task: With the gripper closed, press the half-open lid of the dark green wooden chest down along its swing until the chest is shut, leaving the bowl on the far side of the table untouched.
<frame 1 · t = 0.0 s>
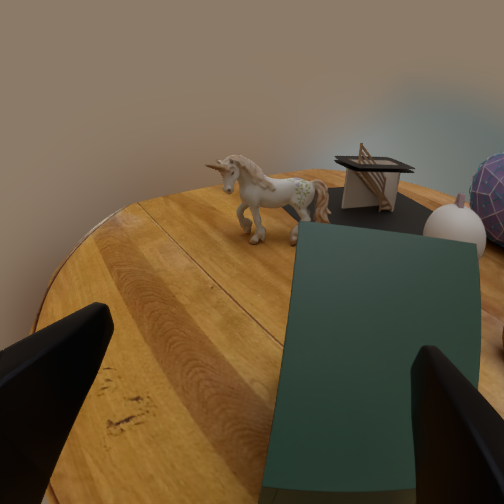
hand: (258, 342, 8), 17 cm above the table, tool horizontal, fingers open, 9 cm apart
lid: (390, 362, 14), point 12 cm above the table, hinge at 40.0°
chest: (337, 446, 21), on the table
ornament: (444, 268, 44), on the table
unicorn figurine: (270, 249, 48), on the table
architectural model: (367, 210, 63), on the table
decorative sphere: (497, 242, 53), on the table
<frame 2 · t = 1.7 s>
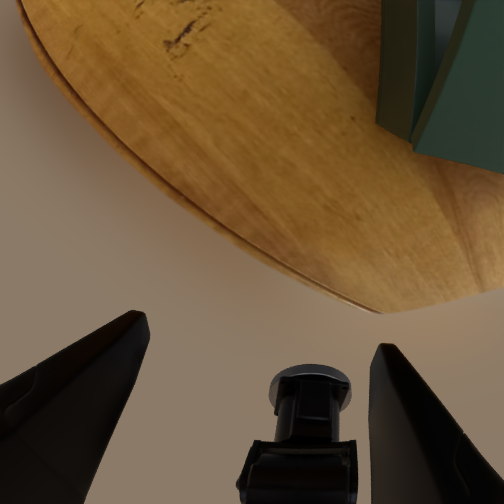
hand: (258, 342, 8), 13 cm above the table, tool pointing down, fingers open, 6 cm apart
chest: (461, 45, 13), on the table
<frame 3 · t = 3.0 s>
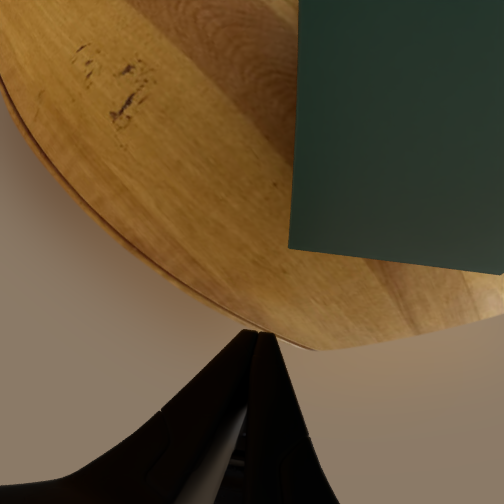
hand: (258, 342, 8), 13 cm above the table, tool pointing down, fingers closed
lid: (488, 164, 7), point 12 cm above the table, hinge at 40.0°
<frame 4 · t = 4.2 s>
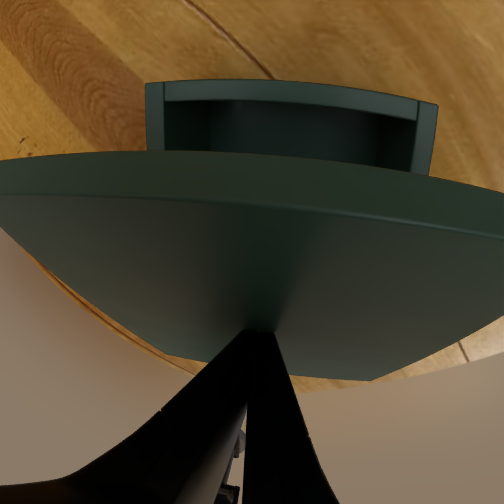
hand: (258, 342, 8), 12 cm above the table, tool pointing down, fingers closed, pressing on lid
lid: (264, 330, 9), point 11 cm above the table, hinge at 32.4°, touching gripper
chest: (289, 192, 18), on the table
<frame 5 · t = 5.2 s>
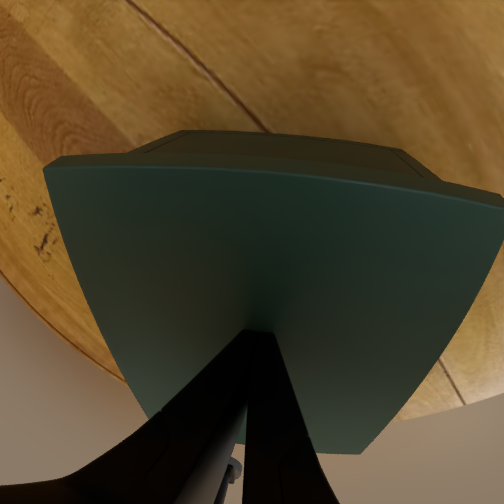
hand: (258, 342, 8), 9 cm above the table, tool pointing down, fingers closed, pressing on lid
lid: (258, 369, 10), point 8 cm above the table, hinge at 7.1°, touching gripper
chest: (281, 255, 17), on the table
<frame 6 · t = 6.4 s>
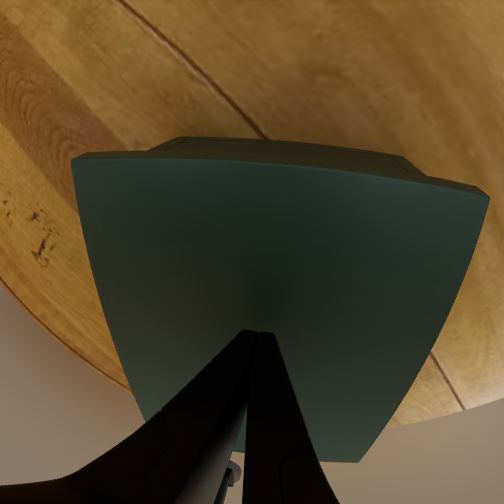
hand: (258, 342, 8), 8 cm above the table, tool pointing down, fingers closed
lid: (260, 365, 10), point 7 cm above the table, hinge at 0.6°
chest: (280, 263, 17), on the table
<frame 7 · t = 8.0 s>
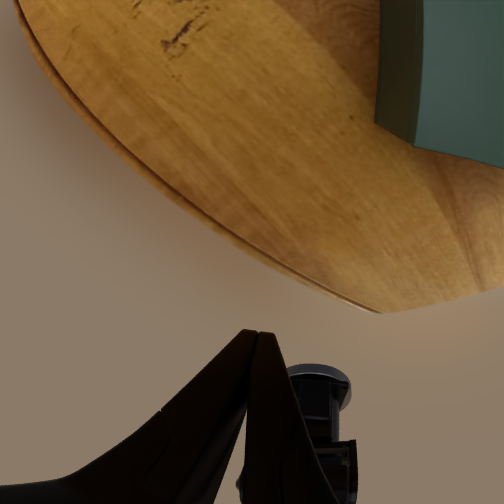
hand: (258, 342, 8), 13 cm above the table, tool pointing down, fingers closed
chest: (460, 44, 13), on the table
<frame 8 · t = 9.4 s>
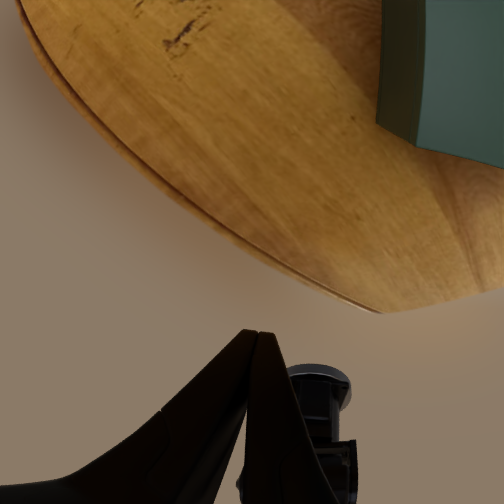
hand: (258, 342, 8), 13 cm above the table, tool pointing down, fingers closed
chest: (462, 45, 13), on the table
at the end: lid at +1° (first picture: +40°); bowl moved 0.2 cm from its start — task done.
